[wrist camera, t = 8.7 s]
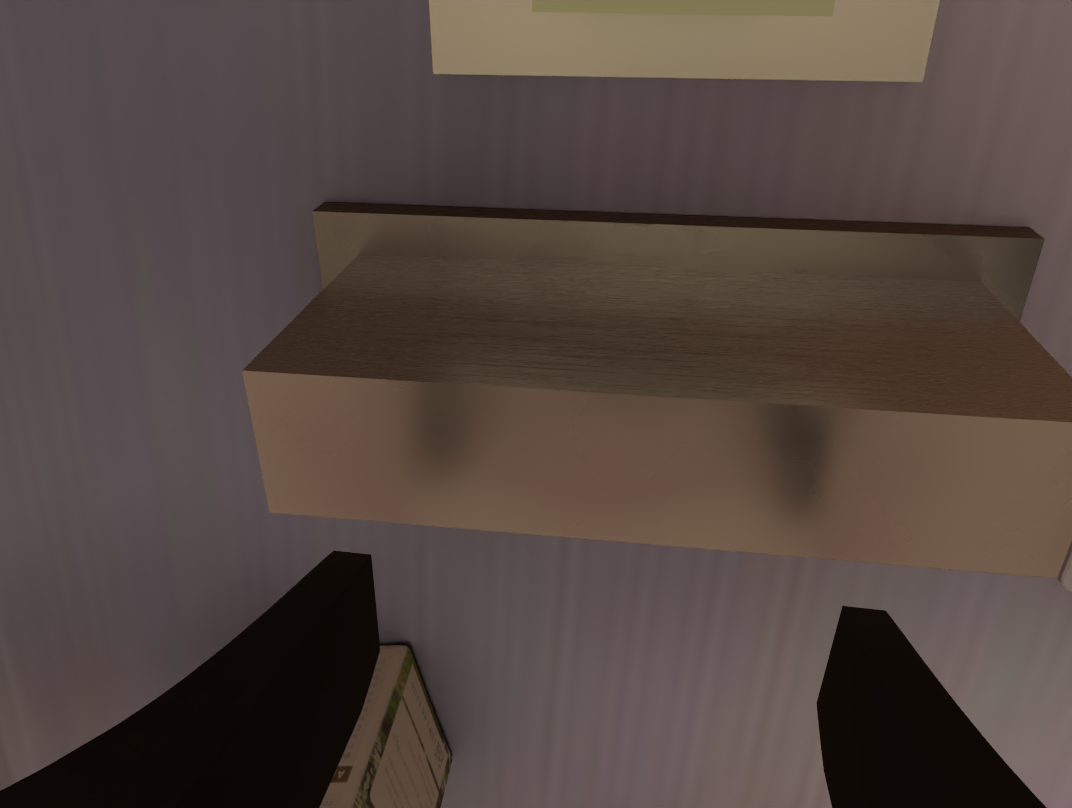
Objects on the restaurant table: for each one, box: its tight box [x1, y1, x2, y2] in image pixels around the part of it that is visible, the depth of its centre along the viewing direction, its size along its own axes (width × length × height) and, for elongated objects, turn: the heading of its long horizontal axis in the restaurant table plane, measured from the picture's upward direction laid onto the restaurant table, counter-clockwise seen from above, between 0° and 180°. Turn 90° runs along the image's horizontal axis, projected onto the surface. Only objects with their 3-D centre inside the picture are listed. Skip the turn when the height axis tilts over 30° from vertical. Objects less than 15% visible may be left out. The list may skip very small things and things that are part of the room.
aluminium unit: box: [242, 202, 1072, 578], centre depth 17 cm, size 16×5×7 cm, turn 91°
